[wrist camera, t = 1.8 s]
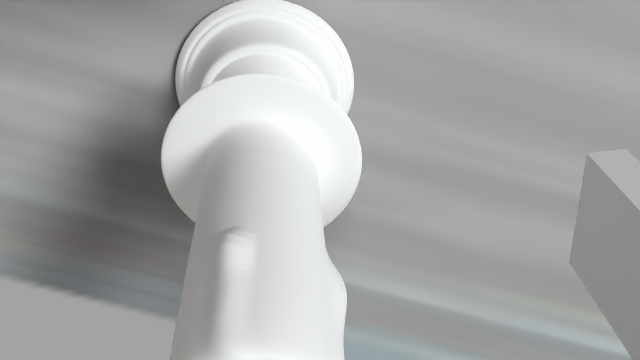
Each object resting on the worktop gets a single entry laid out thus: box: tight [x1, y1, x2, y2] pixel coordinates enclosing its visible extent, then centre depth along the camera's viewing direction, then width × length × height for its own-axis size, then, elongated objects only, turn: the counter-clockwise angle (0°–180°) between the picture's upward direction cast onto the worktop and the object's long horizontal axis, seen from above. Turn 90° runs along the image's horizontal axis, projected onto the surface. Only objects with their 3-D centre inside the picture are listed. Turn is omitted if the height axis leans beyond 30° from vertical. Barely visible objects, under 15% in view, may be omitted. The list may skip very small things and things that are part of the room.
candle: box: [161, 0, 362, 360], centre depth 13 cm, size 5×5×12 cm
